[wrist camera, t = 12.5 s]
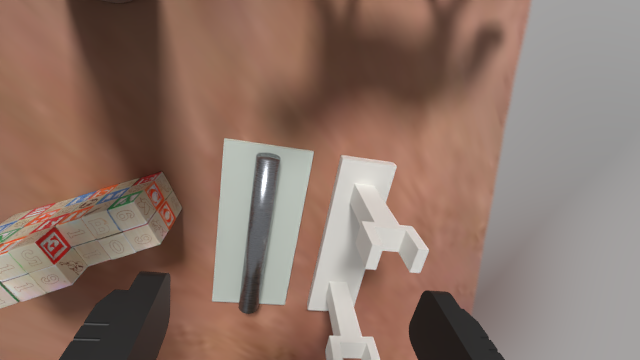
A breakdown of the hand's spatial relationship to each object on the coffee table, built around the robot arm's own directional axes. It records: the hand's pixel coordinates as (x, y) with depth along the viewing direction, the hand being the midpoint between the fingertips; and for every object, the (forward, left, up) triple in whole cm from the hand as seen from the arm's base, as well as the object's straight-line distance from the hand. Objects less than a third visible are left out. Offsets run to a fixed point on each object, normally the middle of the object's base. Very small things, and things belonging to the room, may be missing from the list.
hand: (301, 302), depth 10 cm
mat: (-1, -20, -34) cm, 39 cm away
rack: (+13, -20, -34) cm, 41 cm away
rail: (-1, -20, -33) cm, 39 cm away
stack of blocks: (-23, -19, -34) cm, 45 cm away
